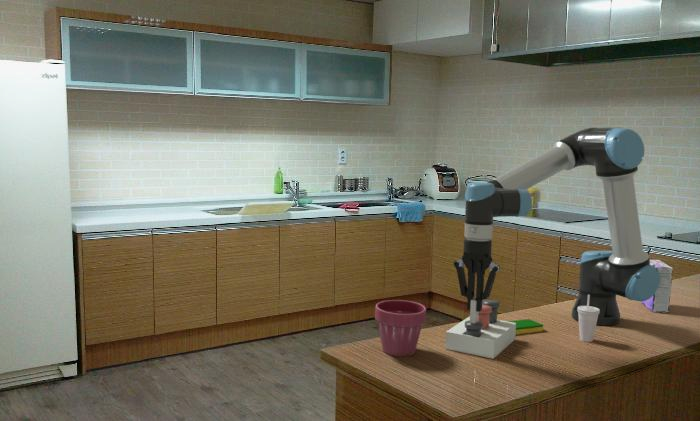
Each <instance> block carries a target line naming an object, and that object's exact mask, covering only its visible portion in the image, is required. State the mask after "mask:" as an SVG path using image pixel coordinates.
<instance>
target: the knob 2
mask: <svg viewBox="0 0 700 421" xmlns="http://www.w3.org/2000/svg"><path fill="white" fill-rule="evenodd" d="M482 305H488V306H491V307H492V312H491V313H490V318H489V323H497V320H498V310H499V309H498V308H500V305H501V304H500V301H499V300H495V299H484V300H482Z"/></svg>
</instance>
